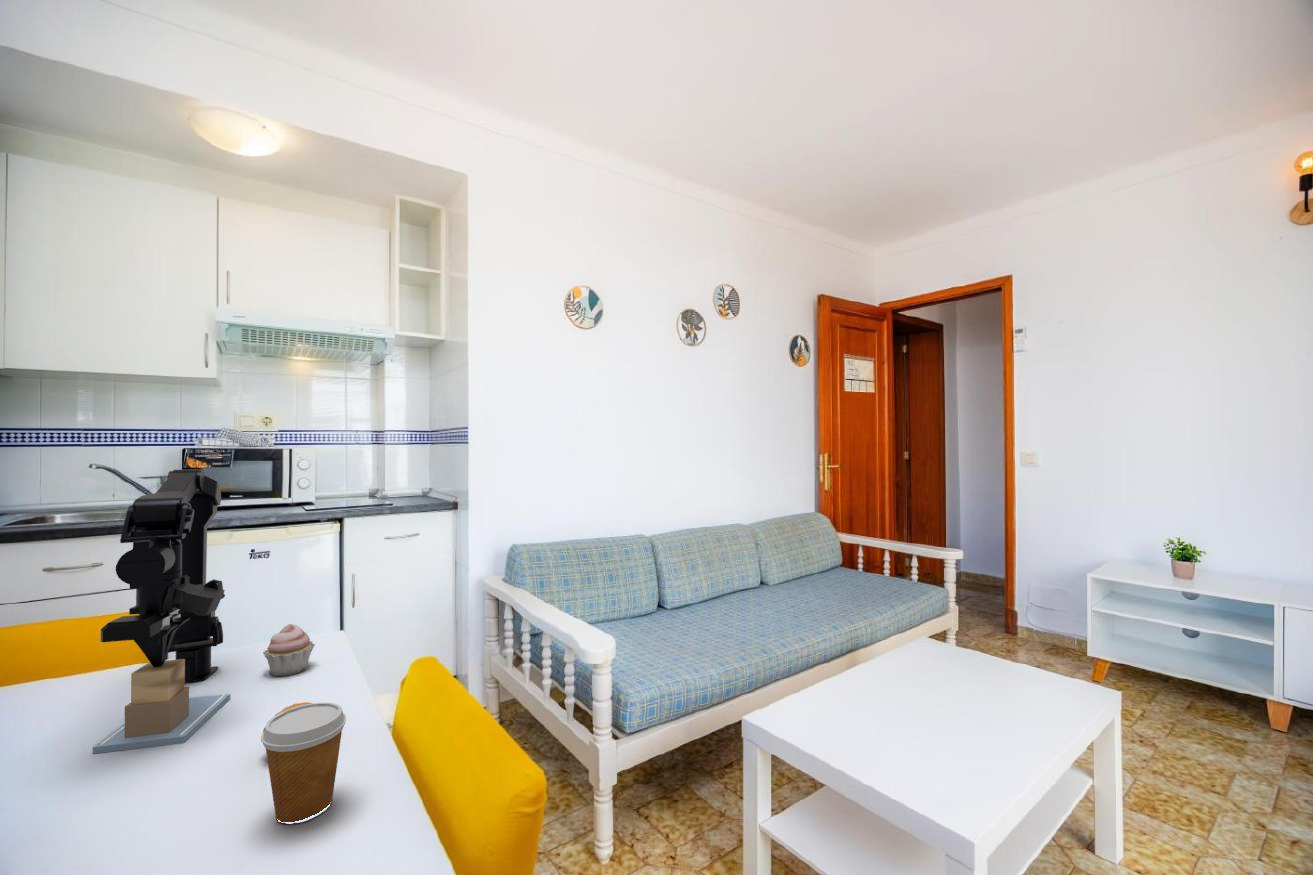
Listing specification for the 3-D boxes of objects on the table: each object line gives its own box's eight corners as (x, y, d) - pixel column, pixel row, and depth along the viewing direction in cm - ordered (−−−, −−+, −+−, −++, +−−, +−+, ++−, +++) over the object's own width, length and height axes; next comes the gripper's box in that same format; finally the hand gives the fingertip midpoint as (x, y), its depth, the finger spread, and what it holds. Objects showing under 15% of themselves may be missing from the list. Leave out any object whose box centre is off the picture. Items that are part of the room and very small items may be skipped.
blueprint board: (153, 707, 102) (153, 674, 102) (230, 699, 106) (230, 667, 106) (92, 753, 87) (92, 714, 87) (184, 742, 90) (185, 705, 90)
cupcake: (259, 683, 112) (259, 633, 113) (265, 667, 121) (265, 620, 121) (313, 674, 117) (314, 626, 117) (316, 659, 125) (316, 614, 125)
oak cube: (149, 691, 95) (149, 661, 95) (184, 688, 97) (184, 658, 97) (131, 704, 90) (131, 673, 90) (168, 700, 92) (168, 670, 92)
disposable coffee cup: (329, 778, 80) (329, 694, 81) (358, 805, 74) (358, 714, 74) (249, 812, 73) (250, 719, 73) (274, 845, 67) (275, 744, 67)
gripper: (187, 582, 87) (186, 683, 87) (240, 558, 105) (239, 642, 105) (98, 587, 84) (97, 692, 84) (168, 562, 102) (168, 648, 102)
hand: (158, 666), depth 94 cm, fingers closed, pressing on oak cube
